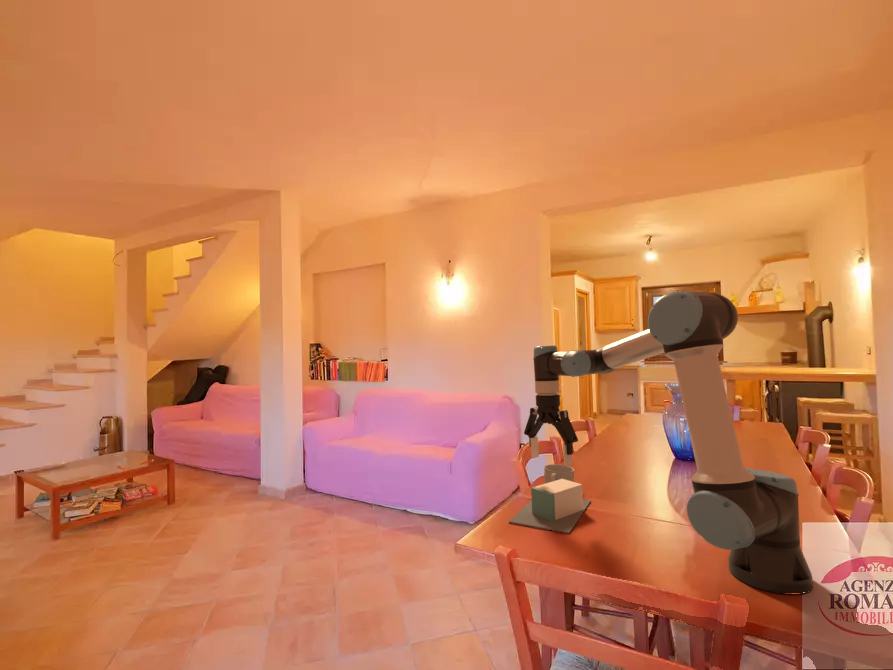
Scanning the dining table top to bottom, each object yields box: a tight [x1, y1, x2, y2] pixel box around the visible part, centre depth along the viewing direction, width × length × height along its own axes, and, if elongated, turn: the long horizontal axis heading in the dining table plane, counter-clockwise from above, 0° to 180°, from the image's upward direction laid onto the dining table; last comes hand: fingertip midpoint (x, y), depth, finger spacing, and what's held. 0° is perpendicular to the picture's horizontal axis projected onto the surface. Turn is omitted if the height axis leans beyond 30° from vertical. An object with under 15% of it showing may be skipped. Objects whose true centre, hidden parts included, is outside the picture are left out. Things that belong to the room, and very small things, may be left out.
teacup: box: [543, 463, 576, 484], centre depth 160 cm, size 14×11×8 cm
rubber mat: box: [508, 498, 592, 535], centre depth 140 cm, size 28×18×1 cm, turn 150°
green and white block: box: [530, 479, 584, 521], centre depth 139 cm, size 8×8×14 cm
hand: (550, 461), depth 140 cm, fingers open, 13 cm apart
